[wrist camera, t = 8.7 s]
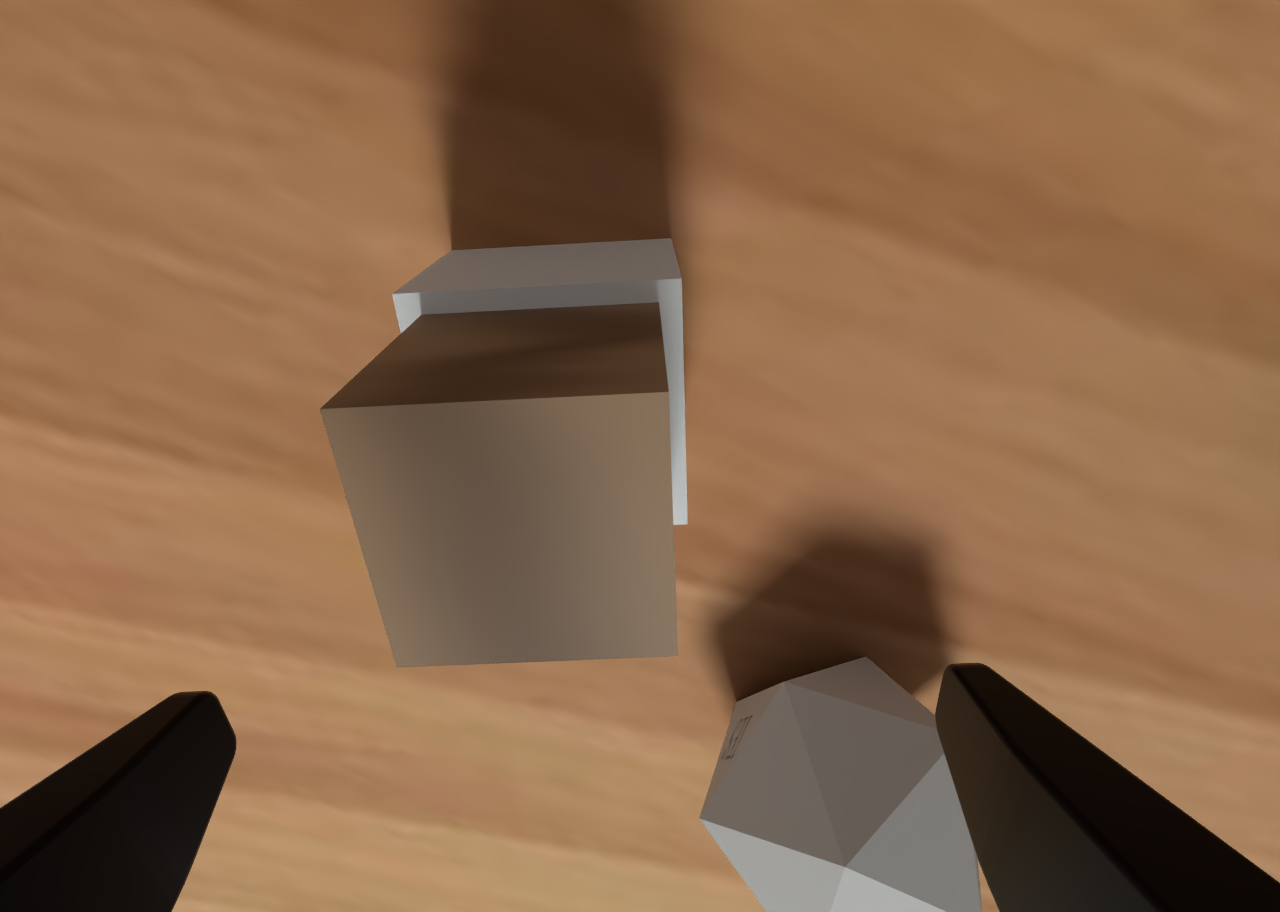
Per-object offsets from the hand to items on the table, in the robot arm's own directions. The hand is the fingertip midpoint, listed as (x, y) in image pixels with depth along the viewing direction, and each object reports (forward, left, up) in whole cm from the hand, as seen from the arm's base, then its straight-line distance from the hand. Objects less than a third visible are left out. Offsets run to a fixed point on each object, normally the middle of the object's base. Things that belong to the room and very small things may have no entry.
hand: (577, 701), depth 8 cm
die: (-7, +15, -13) cm, 21 cm away
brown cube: (+1, 0, -8) cm, 8 cm away
